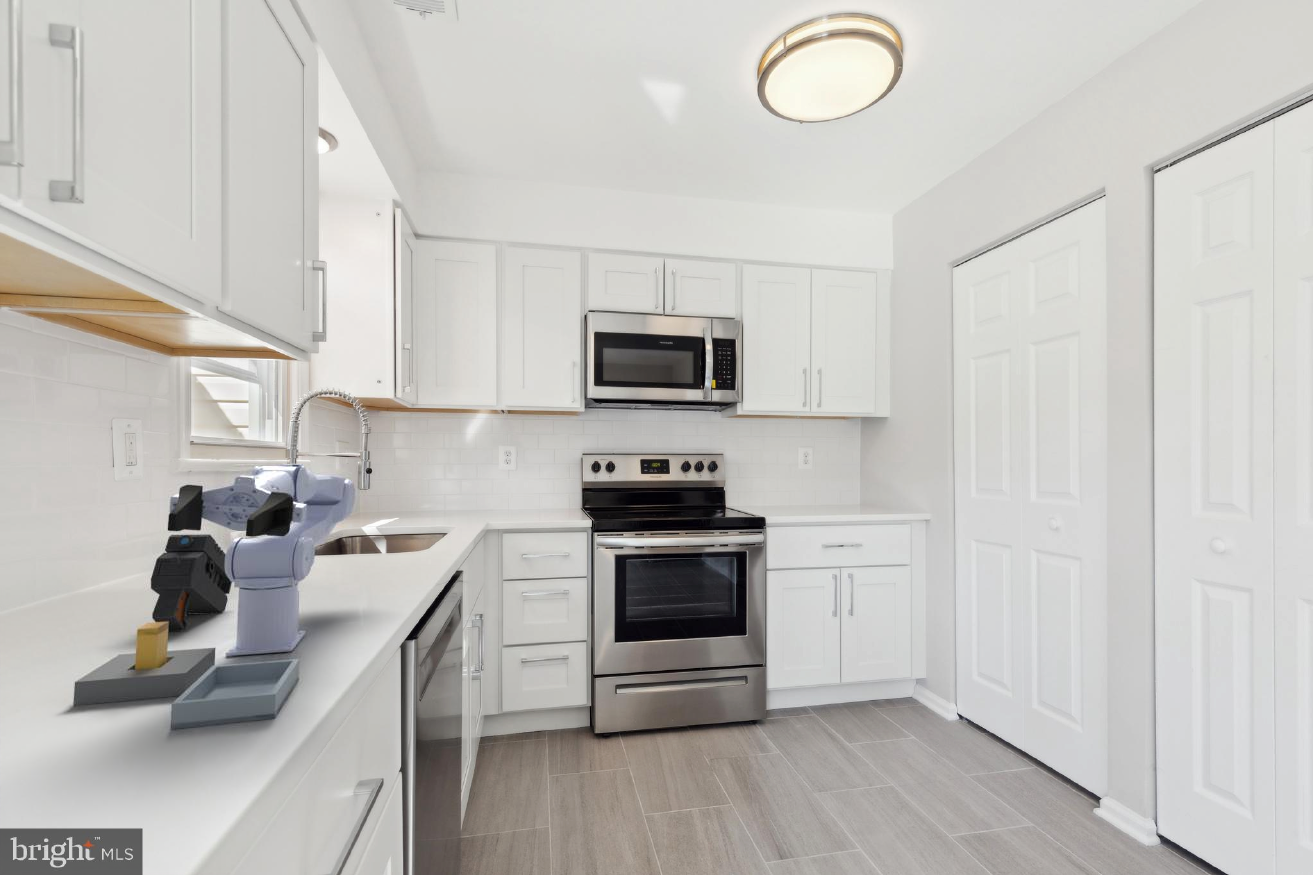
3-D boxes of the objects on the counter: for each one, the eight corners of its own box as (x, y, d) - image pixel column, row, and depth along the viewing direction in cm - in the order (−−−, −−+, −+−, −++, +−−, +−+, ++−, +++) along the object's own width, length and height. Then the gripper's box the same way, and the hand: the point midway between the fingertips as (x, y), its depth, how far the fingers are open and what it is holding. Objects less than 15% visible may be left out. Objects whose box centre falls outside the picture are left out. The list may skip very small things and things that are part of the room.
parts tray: (211, 687, 72) (212, 665, 72) (298, 679, 75) (299, 658, 75) (170, 729, 61) (171, 703, 61) (274, 718, 64) (275, 693, 64)
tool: (133, 621, 89) (163, 526, 97) (182, 653, 105) (205, 569, 112) (182, 619, 91) (208, 526, 99) (223, 650, 106) (243, 568, 114)
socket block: (118, 674, 75) (119, 654, 75) (214, 667, 79) (215, 647, 79) (73, 705, 66) (74, 681, 66) (184, 695, 69) (185, 672, 69)
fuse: (145, 681, 73) (148, 622, 74) (165, 679, 74) (168, 621, 74) (133, 690, 70) (137, 628, 71) (154, 688, 71) (158, 627, 71)
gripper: (197, 463, 80) (138, 484, 67) (319, 475, 84) (286, 496, 71) (192, 516, 80) (133, 546, 67) (313, 525, 84) (280, 555, 71)
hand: (211, 525), depth 69 cm, fingers open, 7 cm apart
